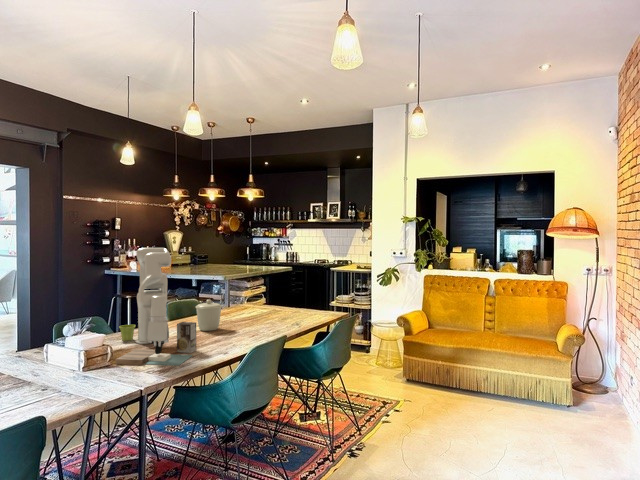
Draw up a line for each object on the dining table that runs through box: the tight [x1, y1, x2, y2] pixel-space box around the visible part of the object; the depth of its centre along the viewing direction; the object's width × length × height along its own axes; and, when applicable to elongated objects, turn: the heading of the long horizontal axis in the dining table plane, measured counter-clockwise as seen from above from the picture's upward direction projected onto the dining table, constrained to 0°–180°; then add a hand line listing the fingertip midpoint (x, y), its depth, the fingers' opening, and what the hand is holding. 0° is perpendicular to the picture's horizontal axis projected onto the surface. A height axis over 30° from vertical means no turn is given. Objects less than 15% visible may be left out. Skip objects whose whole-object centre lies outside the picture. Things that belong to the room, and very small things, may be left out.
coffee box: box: [176, 321, 197, 354], centre depth 248 cm, size 9×6×16 cm
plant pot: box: [118, 324, 136, 342], centre depth 274 cm, size 9×9×9 cm
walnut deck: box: [115, 348, 156, 366], centre depth 232 cm, size 20×14×2 cm
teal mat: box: [144, 353, 193, 367], centre depth 231 cm, size 18×18×1 cm
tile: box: [148, 352, 171, 361], centre depth 231 cm, size 7×9×2 cm
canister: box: [195, 299, 223, 332], centre depth 305 cm, size 18×18×21 cm
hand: (158, 353), depth 231 cm, fingers closed
